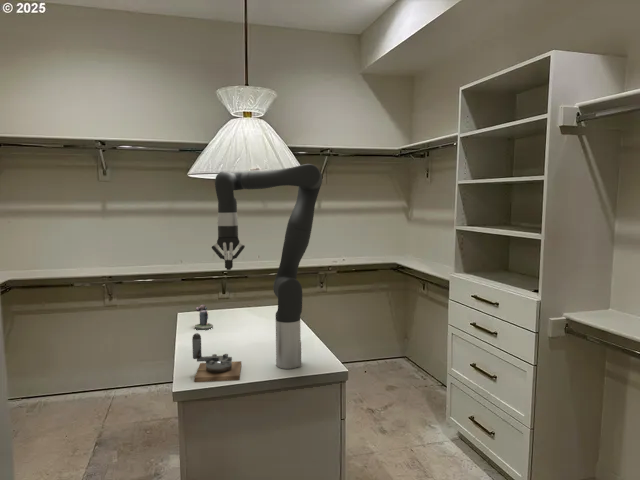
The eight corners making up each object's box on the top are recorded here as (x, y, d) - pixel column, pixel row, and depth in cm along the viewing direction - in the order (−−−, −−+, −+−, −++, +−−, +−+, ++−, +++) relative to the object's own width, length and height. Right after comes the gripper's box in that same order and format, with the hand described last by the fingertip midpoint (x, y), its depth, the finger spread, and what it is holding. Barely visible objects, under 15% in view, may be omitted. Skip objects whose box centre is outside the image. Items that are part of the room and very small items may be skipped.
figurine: (202, 331, 212) (201, 306, 211) (191, 328, 217) (190, 304, 216) (216, 327, 218) (216, 303, 217) (205, 324, 223) (204, 301, 222)
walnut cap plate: (241, 365, 168) (241, 360, 168) (239, 379, 154) (239, 375, 154) (200, 367, 166) (200, 362, 166) (194, 382, 152) (194, 377, 152)
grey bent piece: (233, 363, 165) (232, 328, 163) (230, 372, 156) (230, 336, 155) (195, 364, 163) (194, 330, 162) (190, 374, 154) (189, 337, 153)
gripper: (245, 223, 175) (246, 267, 177) (211, 224, 174) (212, 268, 175) (245, 224, 168) (245, 270, 169) (209, 225, 166) (210, 271, 168)
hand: (228, 269), depth 172 cm, fingers closed
